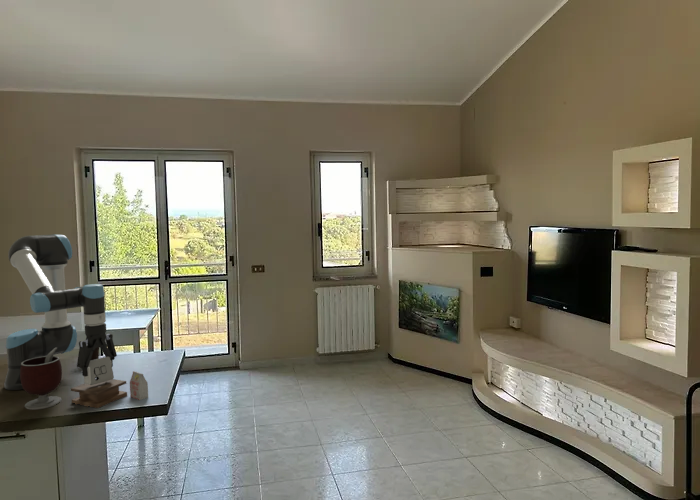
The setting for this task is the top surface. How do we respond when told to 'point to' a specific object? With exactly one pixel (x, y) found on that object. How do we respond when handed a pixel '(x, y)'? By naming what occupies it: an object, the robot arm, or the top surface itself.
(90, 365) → the electrical switch
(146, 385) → the milk carton
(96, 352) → the coffee mug
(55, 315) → the robot arm
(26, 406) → the mate gourd
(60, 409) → the top surface
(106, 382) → the walnut stand
